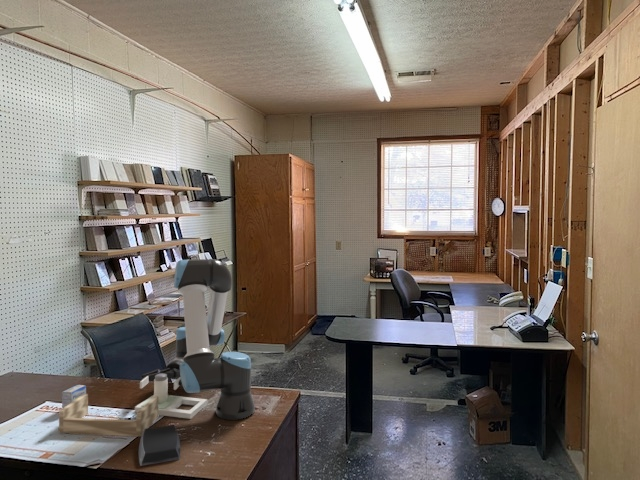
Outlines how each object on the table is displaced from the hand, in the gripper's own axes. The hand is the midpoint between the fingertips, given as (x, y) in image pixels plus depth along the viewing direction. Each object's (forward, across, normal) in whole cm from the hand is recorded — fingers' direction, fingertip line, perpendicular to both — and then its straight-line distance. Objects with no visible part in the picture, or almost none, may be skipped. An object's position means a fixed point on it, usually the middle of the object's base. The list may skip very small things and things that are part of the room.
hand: (157, 385), depth 175 cm
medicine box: (+2, +32, -10) cm, 34 cm away
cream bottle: (-3, 0, -8) cm, 8 cm away
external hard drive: (+28, -12, -10) cm, 33 cm away
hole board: (-2, -5, -10) cm, 11 cm away
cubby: (+14, +12, -10) cm, 21 cm away
